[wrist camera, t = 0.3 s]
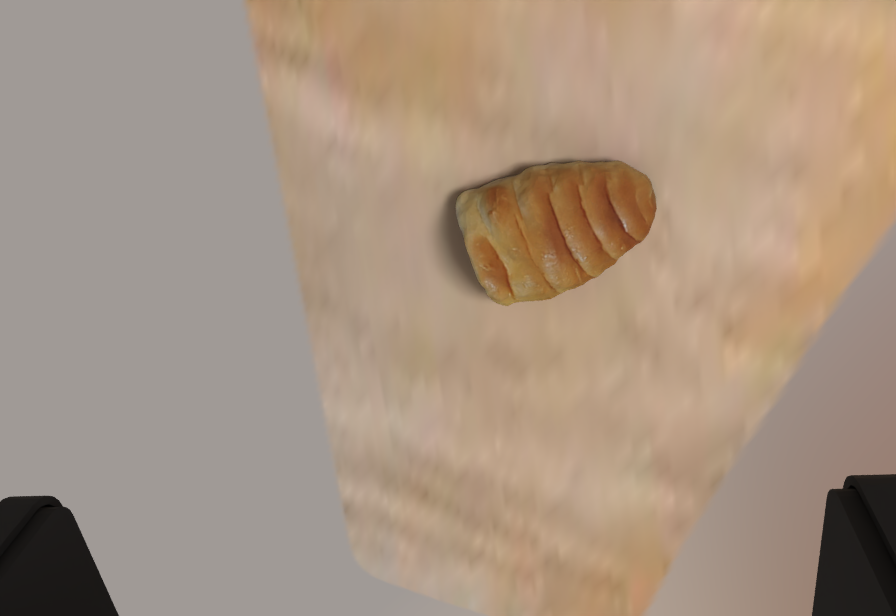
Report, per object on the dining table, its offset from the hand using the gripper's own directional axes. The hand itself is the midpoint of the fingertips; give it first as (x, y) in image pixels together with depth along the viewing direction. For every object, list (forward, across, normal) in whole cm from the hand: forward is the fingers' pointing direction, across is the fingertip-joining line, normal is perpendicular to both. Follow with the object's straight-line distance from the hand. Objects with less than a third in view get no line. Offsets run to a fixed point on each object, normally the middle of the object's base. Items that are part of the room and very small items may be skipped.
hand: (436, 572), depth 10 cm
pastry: (+31, -1, +8) cm, 32 cm away
